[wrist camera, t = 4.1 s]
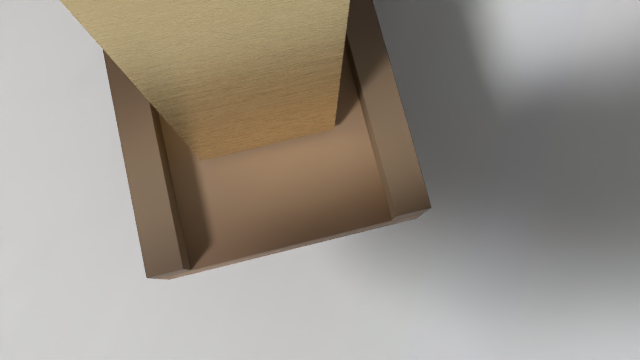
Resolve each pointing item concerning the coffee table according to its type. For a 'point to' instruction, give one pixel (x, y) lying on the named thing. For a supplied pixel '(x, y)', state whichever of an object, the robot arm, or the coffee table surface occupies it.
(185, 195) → the balance beam
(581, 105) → the coffee table surface
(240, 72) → the brass rider
